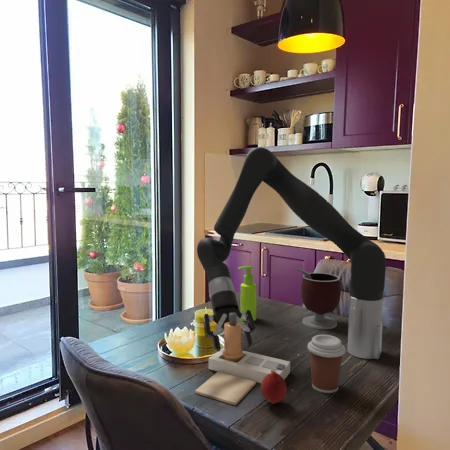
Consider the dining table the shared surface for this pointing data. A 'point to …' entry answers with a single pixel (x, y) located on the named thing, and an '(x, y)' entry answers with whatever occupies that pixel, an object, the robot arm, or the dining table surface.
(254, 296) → the soap dispenser
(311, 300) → the mate gourd
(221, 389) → the cork mat
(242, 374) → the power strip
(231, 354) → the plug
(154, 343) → the dining table surface
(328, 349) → the coffee cup
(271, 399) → the onion
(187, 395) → the dining table surface
